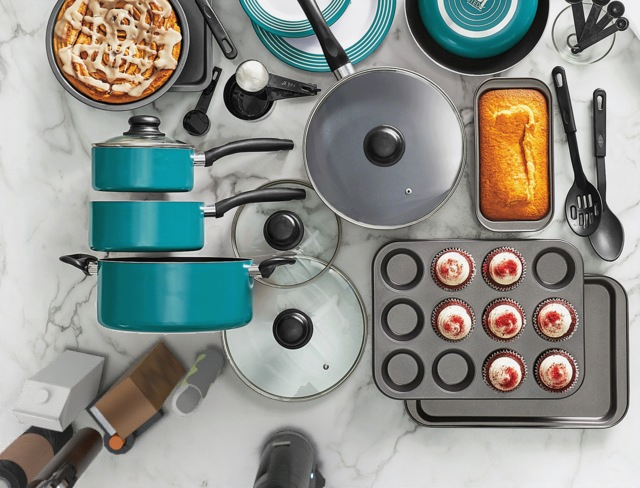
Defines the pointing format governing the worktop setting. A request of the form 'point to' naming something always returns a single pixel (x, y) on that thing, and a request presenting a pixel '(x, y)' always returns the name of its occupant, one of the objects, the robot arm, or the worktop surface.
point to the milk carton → (60, 391)
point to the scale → (129, 439)
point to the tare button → (116, 442)
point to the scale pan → (102, 420)
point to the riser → (141, 390)
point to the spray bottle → (197, 383)
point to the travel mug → (30, 455)
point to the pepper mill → (73, 454)
